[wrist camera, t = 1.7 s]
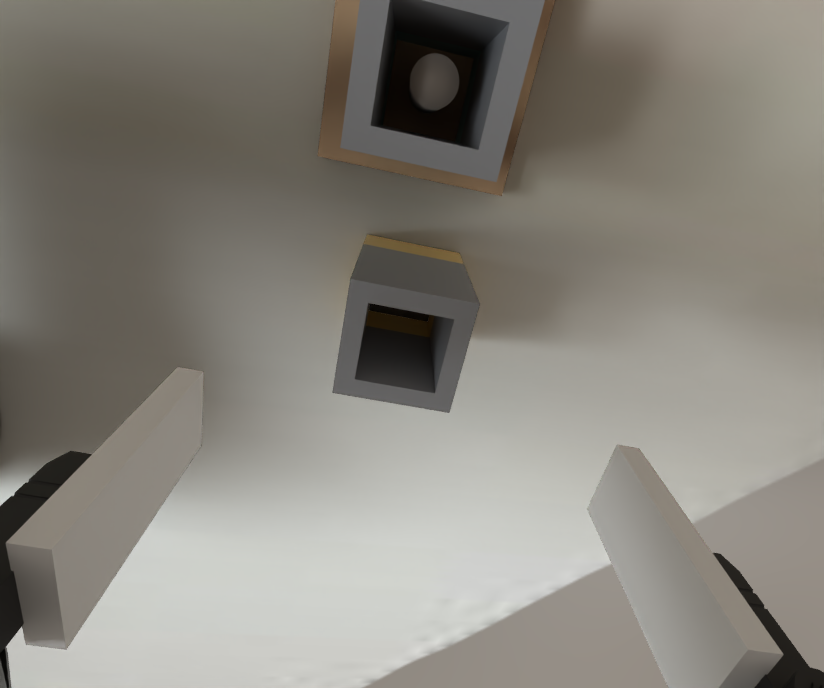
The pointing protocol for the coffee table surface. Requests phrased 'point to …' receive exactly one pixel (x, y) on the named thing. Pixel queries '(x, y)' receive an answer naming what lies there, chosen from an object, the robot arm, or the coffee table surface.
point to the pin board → (401, 105)
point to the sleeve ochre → (406, 325)
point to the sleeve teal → (487, 89)
